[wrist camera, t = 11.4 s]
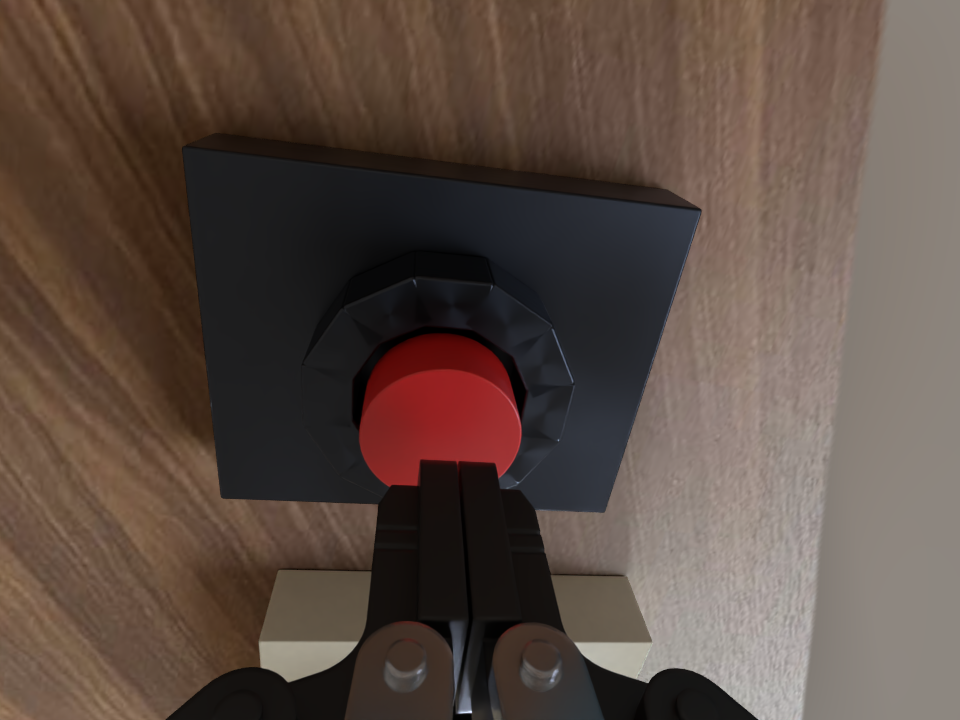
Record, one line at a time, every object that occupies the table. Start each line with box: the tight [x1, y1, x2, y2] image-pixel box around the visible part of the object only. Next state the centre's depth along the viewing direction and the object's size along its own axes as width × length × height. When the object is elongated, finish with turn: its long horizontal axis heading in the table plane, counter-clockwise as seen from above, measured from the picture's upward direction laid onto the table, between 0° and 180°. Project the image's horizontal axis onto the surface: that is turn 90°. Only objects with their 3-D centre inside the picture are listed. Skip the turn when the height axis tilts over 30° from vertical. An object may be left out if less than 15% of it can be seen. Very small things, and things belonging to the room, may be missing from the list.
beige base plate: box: [259, 570, 653, 682], centre depth 23 cm, size 14×12×3 cm
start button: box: [359, 333, 522, 487], centre depth 13 cm, size 4×4×2 cm
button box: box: [182, 133, 702, 513], centre depth 15 cm, size 12×10×4 cm
